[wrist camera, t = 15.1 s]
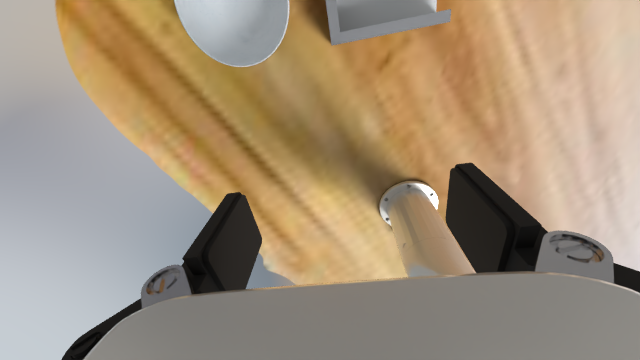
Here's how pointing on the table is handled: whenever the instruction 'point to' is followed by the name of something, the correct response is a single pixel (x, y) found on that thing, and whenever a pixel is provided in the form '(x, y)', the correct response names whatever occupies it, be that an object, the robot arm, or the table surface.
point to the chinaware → (235, 28)
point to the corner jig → (379, 17)
